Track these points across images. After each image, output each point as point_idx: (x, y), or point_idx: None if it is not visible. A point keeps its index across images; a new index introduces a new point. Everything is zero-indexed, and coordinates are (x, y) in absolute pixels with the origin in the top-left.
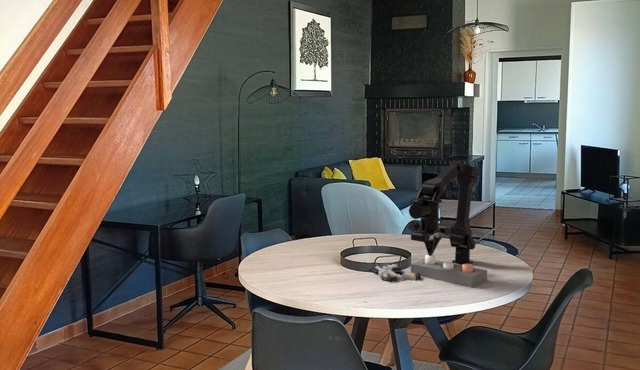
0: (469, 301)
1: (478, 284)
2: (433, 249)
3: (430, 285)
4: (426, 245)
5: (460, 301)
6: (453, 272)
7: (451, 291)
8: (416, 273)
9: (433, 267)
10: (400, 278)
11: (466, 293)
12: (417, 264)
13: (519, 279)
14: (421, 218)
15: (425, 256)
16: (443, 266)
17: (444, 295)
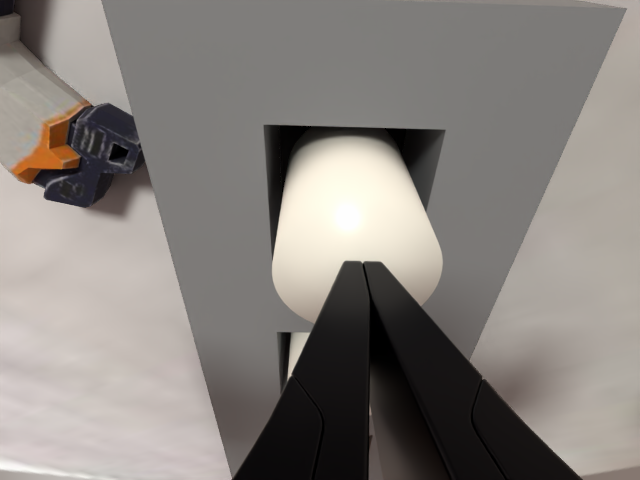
0: (76, 465)
1: None
2: (372, 416)
3: (72, 303)
4: (266, 452)
5: (41, 453)
6: (220, 430)
7: (106, 400)
8: (99, 140)
9: (215, 306)
10: None
11: (147, 437)
12: (161, 114)
13: None
14: None
15: (284, 230)
16: (297, 356)
17: (25, 403)
